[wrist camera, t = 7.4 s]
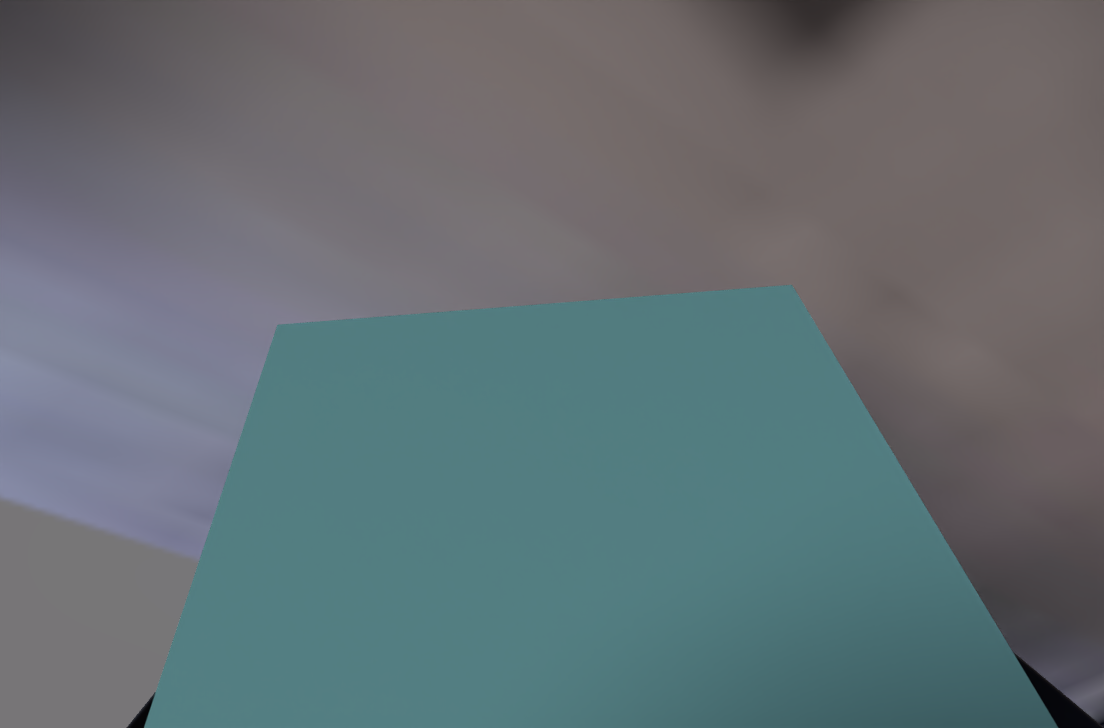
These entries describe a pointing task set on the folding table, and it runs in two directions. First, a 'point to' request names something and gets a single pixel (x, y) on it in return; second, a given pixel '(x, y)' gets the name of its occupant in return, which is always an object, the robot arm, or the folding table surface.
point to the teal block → (578, 535)
